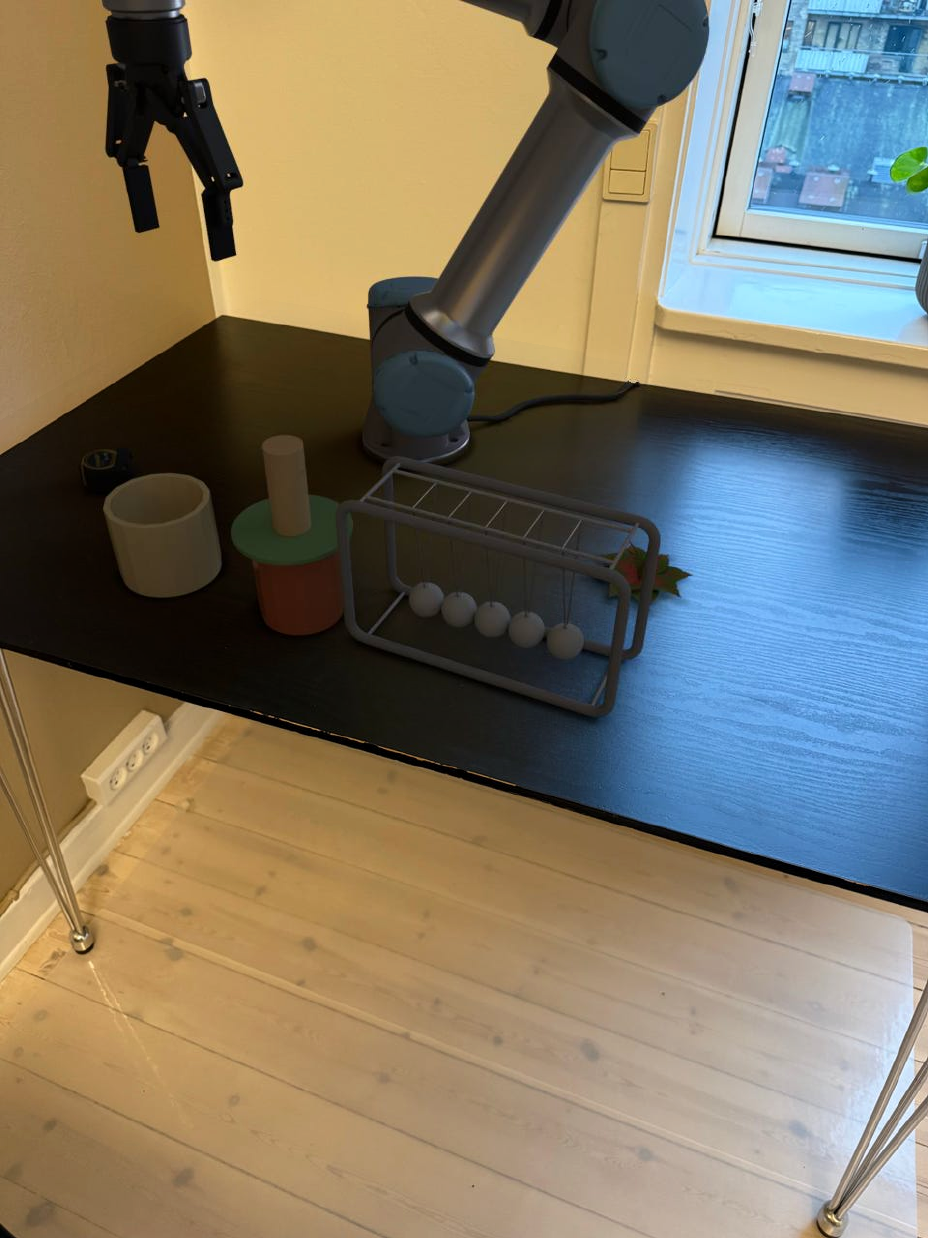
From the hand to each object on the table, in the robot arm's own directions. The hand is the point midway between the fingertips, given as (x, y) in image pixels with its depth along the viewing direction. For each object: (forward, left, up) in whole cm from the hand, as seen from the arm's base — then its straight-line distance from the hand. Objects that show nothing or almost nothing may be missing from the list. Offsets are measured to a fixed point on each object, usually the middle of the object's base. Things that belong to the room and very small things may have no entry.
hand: (184, 243), depth 103 cm
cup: (-9, +24, -33) cm, 42 cm away
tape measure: (+15, -7, -33) cm, 37 cm away
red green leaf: (-48, +24, -33) cm, 63 cm away
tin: (+6, +14, -33) cm, 36 cm away
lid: (-9, +24, -22) cm, 34 cm away
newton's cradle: (-29, +34, -33) cm, 55 cm away
